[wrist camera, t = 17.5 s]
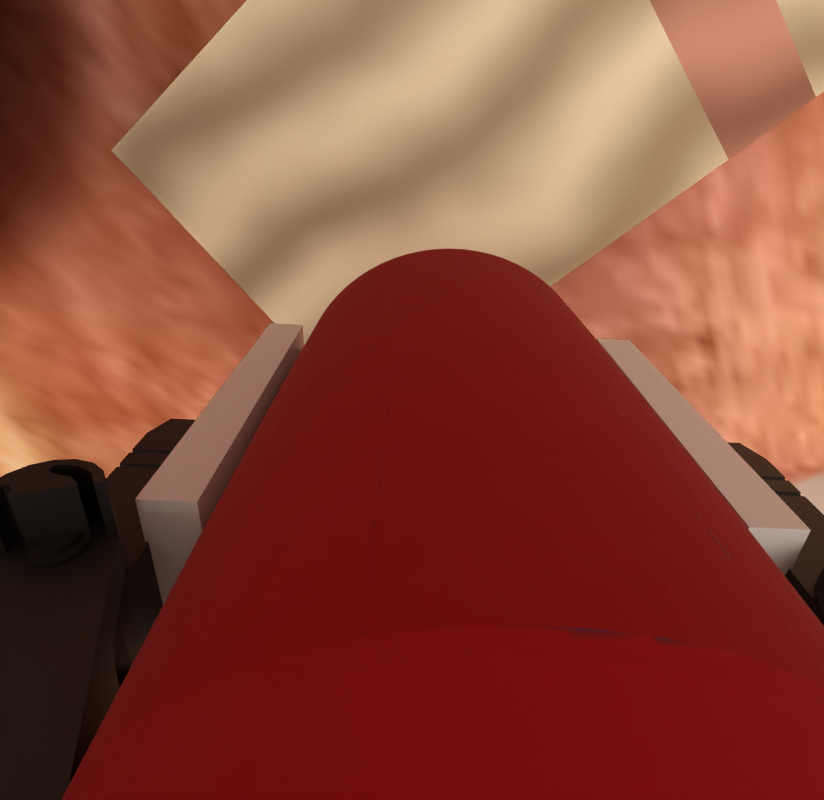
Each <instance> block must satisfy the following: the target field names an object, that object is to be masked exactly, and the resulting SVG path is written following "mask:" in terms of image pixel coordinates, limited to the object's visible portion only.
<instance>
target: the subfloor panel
mask: <svg viewBox="0 0 824 800" xmlns="http://www.w3.org/2000/svg"><path fill="white" fill-rule="evenodd" d="M822 92H824V0H246V2H245V3H244V4H243V5H242V6H241V7H240V8H239V9H238V10H237V12H236V13H235V14H234V15H233V16H232V17H231V18H230V19H229V20H228V21H227V23H226V24H225V25H224V26H223V27H222V28H221V29H220V30H219V31H218V33H217V34H216V35H215V36H214V37H213V38H212V39H211V40H210V41H209V43H208V44H207V45H206V46H205V47H204V48H203V49H202V50H201V51H200V53H199V54H198V55H197V56H196V57H195V58H194V59H193V60H192V61H191V62H190V64H189V65H188V66H187V67H186V68H185V69H184V70H183V71H182V72H181V74H180V75H179V76H178V77H177V78H176V79H175V80H174V81H173V82H172V84H171V85H170V86H169V87H168V88H167V89H166V90H165V91H164V92H163V94H162V95H161V96H160V97H159V98H158V99H157V100H156V101H155V102H154V104H153V105H152V106H151V107H150V108H149V109H148V110H147V111H146V112H145V113H144V115H143V116H142V117H141V118H140V119H139V120H138V121H137V122H136V123H135V125H134V126H133V127H132V128H131V129H130V130H129V131H128V132H127V133H126V135H125V136H124V137H123V138H122V139H121V140H120V141H119V142H118V143H117V145H116V146H115V147H114V148H113V149H112V150H111V151H112V152H113V153H114V154H115V155H116V156H117V157H118V158H119V159H120V160H121V161H122V162H123V163H124V164H125V165H126V166H127V168H128V169H129V170H130V171H131V172H132V173H133V174H134V175H135V176H136V177H137V178H138V179H139V180H140V181H141V182H142V183H143V184H144V186H145V187H146V188H147V189H148V190H149V191H150V192H151V193H152V194H153V195H154V196H155V197H156V198H157V199H158V200H159V201H160V202H161V204H162V205H163V206H164V207H165V208H166V209H167V210H168V211H169V212H170V213H171V214H172V215H173V216H174V217H175V218H176V219H177V220H178V222H179V223H180V224H181V225H182V226H183V227H184V228H185V229H186V230H187V231H188V232H189V233H190V234H191V235H192V236H193V237H194V238H195V240H196V241H197V242H198V243H199V244H200V245H201V246H202V247H203V248H204V249H205V250H206V251H207V252H208V253H209V254H210V255H211V256H212V258H213V259H214V260H215V261H216V262H217V263H218V264H219V265H220V266H221V267H222V268H223V269H224V270H225V271H226V272H227V273H228V275H229V276H230V277H231V278H232V279H233V280H234V281H235V282H236V283H237V284H238V285H239V286H240V287H241V288H242V289H243V290H244V291H245V293H246V294H247V295H248V296H249V297H250V298H251V299H252V300H253V301H254V302H255V303H256V304H257V305H258V306H259V307H260V308H261V309H262V311H263V312H264V313H265V314H266V315H267V316H268V317H269V318H270V319H271V320H272V321H273V322H274V323H275V324H294V325H303V337H304V345H305V343H306V342H307V340H308V338H309V337H310V335H311V333H312V331H313V330H314V328H315V326H316V325H317V323H318V321H319V319H320V318H321V316H322V314H323V313H324V311H325V310H326V309H327V307H328V306H329V304H330V303H331V302H332V301H333V300H334V299H335V298H336V296H337V295H338V294H339V293H340V292H341V291H342V290H343V289H344V288H345V287H347V286H348V285H349V284H350V283H351V282H353V281H354V280H355V279H356V278H358V277H359V276H361V275H362V274H364V273H365V272H367V271H368V270H370V269H372V268H374V267H376V266H378V265H380V264H381V263H384V262H386V261H389V260H391V259H393V258H396V257H399V256H403V255H406V254H409V253H414V252H419V251H424V250H432V249H449V248H450V249H466V250H473V251H479V252H484V253H488V254H492V255H495V256H498V257H501V258H504V259H506V260H509V261H511V262H513V263H516V264H518V265H520V266H521V267H523V268H525V269H527V270H529V271H530V272H532V273H533V274H534V275H536V276H537V277H539V278H540V279H541V280H543V281H544V282H545V283H546V284H547V285H549V286H552V285H553V284H555V283H556V282H557V281H559V280H560V279H562V278H563V277H564V276H566V275H567V274H569V273H570V272H571V271H573V270H574V269H576V268H577V267H578V266H580V265H581V264H583V263H584V262H585V261H587V260H588V259H590V258H591V257H592V256H594V255H595V254H597V253H598V252H599V251H601V250H602V249H604V248H605V247H606V246H608V245H609V244H611V243H612V242H613V241H615V240H616V239H618V238H619V237H620V236H622V235H623V234H625V233H626V232H627V231H629V230H630V229H632V228H633V227H634V226H636V225H637V224H639V223H640V222H641V221H643V220H644V219H646V218H647V217H648V216H650V215H651V214H653V213H654V212H655V211H657V210H658V209H660V208H661V207H662V206H664V205H665V204H667V203H668V202H669V201H671V200H672V199H674V198H675V197H676V196H678V195H679V194H681V193H682V192H683V191H685V190H686V189H688V188H689V187H691V186H692V185H693V184H695V183H696V182H698V181H699V180H700V179H702V178H703V177H705V176H706V175H707V174H709V173H710V172H712V171H713V170H714V169H716V168H717V167H719V166H720V165H721V164H723V163H724V162H726V161H727V160H728V159H730V158H731V157H733V156H734V155H735V154H737V153H738V152H740V151H741V150H742V149H744V148H745V147H747V146H748V145H749V144H751V143H752V142H754V141H755V140H756V139H758V138H759V137H761V136H762V135H763V134H765V133H766V132H768V131H769V130H770V129H772V128H773V127H775V126H776V125H777V124H779V123H780V122H782V121H783V120H784V119H786V118H787V117H789V116H790V115H791V114H793V113H794V112H796V111H797V110H798V109H800V108H801V107H803V106H804V105H805V104H807V103H808V102H810V101H811V100H812V99H814V98H815V97H817V96H818V95H819V94H821V93H822Z"/></svg>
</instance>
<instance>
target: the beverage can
mask: <svg viewBox="0 0 824 800" xmlns="http://www.w3.org/2000/svg"><path fill="white" fill-rule="evenodd" d="M62 800H824V626H823V624H822V623H821V622H820V621H819V619H818V618H817V617H816V615H815V614H814V613H813V612H812V610H811V609H810V608H809V606H808V605H807V604H806V603H805V601H804V600H803V599H802V597H801V596H800V595H799V594H798V592H797V591H796V590H795V588H794V587H793V586H792V585H791V583H790V582H789V581H788V579H787V578H786V577H785V576H784V574H783V573H782V572H781V570H780V569H779V568H778V567H777V565H776V564H775V563H774V561H773V560H772V559H771V558H770V556H769V555H768V554H767V552H766V551H765V550H764V549H763V547H762V546H761V545H760V543H759V542H758V541H757V540H756V538H755V537H754V536H753V535H752V533H751V532H750V531H749V529H748V528H747V527H746V526H745V524H744V523H743V522H742V520H741V519H740V518H739V517H738V515H737V514H736V513H735V512H734V510H733V509H732V508H731V507H730V505H729V504H728V503H727V502H726V500H725V499H724V498H723V497H722V495H721V494H720V493H719V491H718V490H717V489H716V488H715V486H714V485H713V484H712V483H711V481H710V480H709V479H708V478H707V476H706V475H705V474H704V473H703V471H702V470H701V469H700V468H699V466H698V465H697V464H696V463H695V461H694V460H693V459H692V457H691V456H690V455H689V454H688V452H687V451H686V450H685V449H684V447H683V446H682V445H681V444H680V442H679V441H678V440H677V439H676V437H675V436H674V435H673V434H672V432H671V431H670V430H669V429H668V427H667V426H666V425H665V424H664V422H663V421H662V420H661V419H660V417H659V416H658V415H657V414H656V412H655V411H654V410H653V409H652V408H651V406H650V405H649V404H648V403H647V401H646V400H645V399H644V398H643V397H642V395H641V394H640V393H639V392H638V390H637V389H636V388H635V387H634V385H633V384H632V383H631V382H630V381H629V379H628V378H627V377H626V376H625V374H624V373H623V372H622V371H621V369H620V368H619V367H618V366H617V365H616V363H615V362H614V361H613V360H612V358H611V357H610V356H609V355H608V353H607V352H606V351H605V350H604V349H603V347H602V346H601V345H600V344H599V342H598V341H597V340H596V339H595V338H594V336H593V335H592V334H591V333H590V332H589V330H588V329H587V328H586V327H585V326H584V325H583V323H582V322H581V321H580V320H579V319H578V318H577V316H576V315H575V314H574V313H573V312H572V311H571V309H570V308H569V307H568V306H567V305H566V304H565V302H564V301H563V300H562V299H561V298H560V296H559V295H558V294H557V293H556V292H555V291H554V290H553V289H552V288H551V287H550V286H549V285H547V284H546V283H545V282H544V281H543V280H541V279H540V278H539V277H537V276H536V275H534V274H533V273H532V272H530V271H529V270H527V269H525V268H523V267H521V266H520V265H518V264H516V263H513V262H511V261H509V260H506V259H504V258H501V257H498V256H495V255H492V254H488V253H484V252H479V251H473V250H466V249H450V248H449V249H432V250H424V251H419V252H414V253H409V254H406V255H403V256H399V257H396V258H393V259H391V260H389V261H386V262H384V263H381V264H380V265H378V266H376V267H374V268H372V269H370V270H368V271H367V272H365V273H364V274H362V275H361V276H359V277H358V278H356V279H355V280H354V281H353V282H351V283H350V284H349V285H348V286H347V287H345V288H344V289H343V290H342V291H341V292H340V293H339V294H338V295H337V296H336V298H335V299H334V300H333V301H332V302H331V303H330V304H329V306H328V307H327V309H326V310H325V311H324V313H323V314H322V316H321V318H320V319H319V321H318V323H317V325H316V326H315V328H314V330H313V331H312V333H311V335H310V337H309V338H308V340H307V342H306V343H305V345H304V347H303V349H302V350H301V352H300V354H299V356H298V357H297V359H296V361H295V362H294V364H293V366H292V368H291V369H290V371H289V373H288V375H287V377H286V378H285V380H284V382H283V384H282V386H281V387H280V389H279V391H278V393H277V395H276V396H275V398H274V400H273V402H272V404H271V405H270V407H269V409H268V411H267V413H266V414H265V416H264V418H263V420H262V422H261V423H260V425H259V427H258V429H257V431H256V433H255V434H254V436H253V438H252V440H251V442H250V444H249V445H248V447H247V449H246V451H245V453H244V455H243V457H242V458H241V460H240V462H239V464H238V466H237V468H236V470H235V471H234V473H233V475H232V477H231V479H230V481H229V483H228V484H227V486H226V488H225V490H224V492H223V494H222V496H221V497H220V499H219V501H218V503H217V505H216V507H215V508H214V510H213V512H212V514H211V516H210V518H209V520H208V521H207V523H206V525H205V527H204V529H203V531H202V533H201V534H200V536H199V538H198V540H197V542H196V544H195V546H194V548H193V549H192V551H191V553H190V555H189V557H188V559H187V561H186V563H185V565H184V567H183V569H182V570H181V572H180V574H179V576H178V578H177V580H176V582H175V584H174V586H173V588H172V589H171V591H170V593H169V595H168V597H167V599H166V601H165V603H164V605H163V607H162V609H161V610H160V612H159V614H158V616H157V618H156V620H155V622H154V624H153V626H152V628H151V630H150V631H149V633H148V635H147V637H146V639H145V641H144V643H143V645H142V647H141V649H140V651H139V652H138V654H137V656H136V658H135V660H134V662H133V664H132V666H131V668H130V670H129V672H128V673H127V675H126V677H125V679H124V681H123V683H122V685H121V687H120V689H119V691H118V692H117V694H116V696H115V698H114V700H113V702H112V704H111V706H110V708H109V710H108V712H107V713H106V715H105V717H104V719H103V721H102V723H101V725H100V727H99V729H98V731H97V733H96V734H95V736H94V738H93V740H92V742H91V744H90V746H89V748H88V750H87V752H86V754H85V755H84V757H83V759H82V761H81V763H80V765H79V767H78V769H77V771H76V773H75V775H74V776H73V778H72V780H71V782H70V784H69V786H68V788H67V790H66V792H65V794H64V796H63V798H62Z"/></svg>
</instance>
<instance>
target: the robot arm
mask: <svg viewBox="0 0 824 800" xmlns="http://www.w3.org/2000/svg"><path fill="white" fill-rule="evenodd" d="M597 341H598V342H599V344H600V345H601V346H602V347H603V349H604V350H605V351H606V352H607V353H608V355H609V356H610V357H611V358H612V360H613V361H614V362H615V363H616V365H617V366H618V367H619V368H620V369H621V371H622V372H623V373H624V374H625V376H626V377H627V378H628V379H629V381H630V382H631V383H632V384H633V385H634V387H635V388H636V389H637V390H638V392H639V393H640V394H641V395H642V397H643V398H644V399H645V400H646V401H647V403H648V404H649V405H650V406H651V408H652V409H653V410H654V411H655V412H656V414H657V415H658V416H659V417H660V419H661V420H662V421H663V422H664V424H665V425H666V426H667V427H668V429H669V430H670V431H671V432H672V434H673V435H674V436H675V437H676V439H677V440H678V441H679V442H680V444H681V445H682V446H683V447H684V449H685V450H686V451H687V452H688V454H689V455H690V456H691V457H692V459H693V460H694V461H695V463H696V464H697V465H698V466H699V468H700V469H701V470H702V471H703V473H704V474H705V475H706V476H707V478H708V479H709V480H710V481H711V483H712V484H713V485H714V486H715V488H716V489H717V490H718V491H719V493H720V494H721V495H722V497H723V498H724V499H725V500H726V502H727V503H728V504H729V505H730V507H731V508H732V509H733V510H734V512H735V513H736V514H737V515H738V517H739V518H740V519H741V520H742V522H743V523H744V524H745V526H746V527H747V528H748V529H749V531H750V532H751V533H752V535H753V536H754V537H755V538H756V540H757V541H758V542H759V543H760V545H761V546H762V547H763V549H764V550H765V551H766V552H767V554H768V555H769V556H770V558H771V559H772V560H773V561H774V563H775V564H776V565H777V567H778V568H779V569H780V570H781V572H782V573H783V574H784V576H785V577H786V578H787V579H788V581H789V582H790V583H791V585H792V586H793V587H794V588H795V590H796V591H797V592H798V594H799V595H800V596H801V597H802V599H803V600H804V601H805V603H806V604H807V605H808V606H809V608H810V609H811V610H812V612H813V613H814V614H815V615H816V617H817V618H818V619H819V621H820V622H821V623H822V624H823V626H824V515H823V514H822V513H821V512H820V511H819V510H818V509H817V508H816V507H815V506H814V505H813V504H812V503H811V502H810V501H809V500H808V499H807V498H806V497H804V496H800V491H798V490H797V489H796V488H795V487H794V486H793V485H792V484H791V483H790V482H789V481H785V477H784V476H783V475H782V474H781V473H780V472H779V471H778V470H777V469H776V468H775V467H774V466H773V465H772V464H771V463H770V462H769V461H768V460H767V459H765V458H764V457H762V456H760V455H759V454H757V453H755V452H754V451H752V450H750V449H748V448H747V447H745V446H743V445H742V444H740V443H727V442H726V441H725V440H724V439H723V438H722V436H721V435H720V434H719V433H718V432H717V431H716V430H715V429H714V428H713V427H712V426H711V425H710V424H709V423H708V422H707V421H706V420H705V419H704V418H703V417H702V416H701V414H700V413H699V412H698V411H697V410H696V409H695V408H694V407H693V406H692V405H691V404H690V403H689V402H688V401H687V400H686V399H685V398H684V397H683V396H682V395H681V394H680V392H679V391H678V390H677V389H676V388H675V387H674V386H673V385H672V384H671V383H670V382H669V381H668V380H667V379H666V378H665V377H664V376H663V375H662V374H661V373H660V372H659V370H658V369H657V368H656V367H655V366H654V365H653V364H652V363H651V362H650V361H649V360H648V359H647V358H646V357H645V356H644V355H643V354H642V353H641V352H640V351H639V350H638V348H637V347H636V346H635V345H634V344H633V343H632V342H631V341H630V340H615V339H597ZM303 347H304V337H303V325H294V324H273V323H270V324H269V325H268V327H267V328H266V329H265V331H264V332H263V333H262V334H261V336H260V337H259V338H258V340H257V341H256V342H255V344H254V345H253V346H252V347H251V349H250V350H249V351H248V353H247V354H246V355H245V357H244V358H243V359H242V360H241V362H240V363H239V364H238V366H237V367H236V368H235V370H234V371H233V372H232V374H231V375H230V376H229V377H228V379H227V380H226V381H225V383H224V384H223V385H222V387H221V388H220V389H219V390H218V392H217V393H216V394H215V396H214V397H213V398H212V400H211V401H210V402H209V403H208V405H207V406H206V407H205V409H204V410H203V411H202V413H201V414H200V415H199V417H198V418H197V419H196V420H187V419H170V420H169V421H167V422H165V423H163V424H162V425H160V426H158V427H156V428H155V429H153V430H151V431H149V432H148V433H147V434H146V435H145V436H144V437H143V438H142V439H141V440H140V442H139V443H138V444H137V445H136V446H135V447H134V448H133V452H132V453H129V454H128V455H127V456H126V457H125V458H124V459H123V461H122V462H121V463H120V467H116V468H115V470H114V471H113V472H112V473H111V474H110V475H109V476H108V477H107V478H105V475H104V471H103V470H102V469H101V468H99V467H98V466H97V465H95V464H94V463H92V462H87V461H82V460H78V459H68V460H52V461H47V462H42V463H37V464H32V465H29V466H26V467H23V468H21V469H18V470H15V471H13V472H10V473H8V474H5V475H4V476H2V477H0V800H62V798H63V796H64V794H65V792H66V790H67V788H68V786H69V784H70V782H71V780H72V778H73V776H74V775H75V773H76V771H77V769H78V767H79V765H80V763H81V761H82V759H83V757H84V755H85V754H86V752H87V750H88V748H89V746H90V744H91V742H92V740H93V738H94V736H95V734H96V733H97V731H98V729H99V727H100V725H101V723H102V721H103V719H104V717H105V715H106V713H107V712H108V710H109V708H110V706H111V704H112V702H113V700H114V698H115V696H116V694H117V692H118V691H119V689H120V687H121V685H122V683H123V681H124V679H125V677H126V675H127V673H128V672H129V670H130V668H131V666H132V664H133V662H134V660H135V658H136V656H137V654H138V652H139V651H140V649H141V647H142V645H143V643H144V641H145V639H146V637H147V635H148V633H149V631H150V630H151V628H152V626H153V624H154V622H155V620H156V618H157V616H158V614H159V612H160V610H161V609H162V607H163V605H164V603H165V601H166V599H167V597H168V595H169V593H170V591H171V589H172V588H173V586H174V584H175V582H176V580H177V578H178V576H179V574H180V572H181V570H182V569H183V567H184V565H185V563H186V561H187V559H188V557H189V555H190V553H191V551H192V549H193V548H194V546H195V544H196V542H197V540H198V538H199V536H200V534H201V533H202V531H203V529H204V527H205V525H206V523H207V521H208V520H209V518H210V516H211V514H212V512H213V510H214V508H215V507H216V505H217V503H218V501H219V499H220V497H221V496H222V494H223V492H224V490H225V488H226V486H227V484H228V483H229V481H230V479H231V477H232V475H233V473H234V471H235V470H236V468H237V466H238V464H239V462H240V460H241V458H242V457H243V455H244V453H245V451H246V449H247V447H248V445H249V444H250V442H251V440H252V438H253V436H254V434H255V433H256V431H257V429H258V427H259V425H260V423H261V422H262V420H263V418H264V416H265V414H266V413H267V411H268V409H269V407H270V405H271V404H272V402H273V400H274V398H275V396H276V395H277V393H278V391H279V389H280V387H281V386H282V384H283V382H284V380H285V378H286V377H287V375H288V373H289V371H290V369H291V368H292V366H293V364H294V362H295V361H296V359H297V357H298V356H299V354H300V352H301V350H302V349H303Z"/></svg>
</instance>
